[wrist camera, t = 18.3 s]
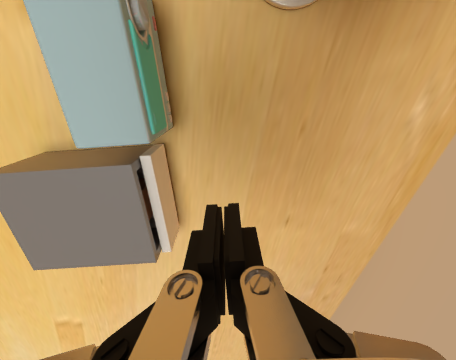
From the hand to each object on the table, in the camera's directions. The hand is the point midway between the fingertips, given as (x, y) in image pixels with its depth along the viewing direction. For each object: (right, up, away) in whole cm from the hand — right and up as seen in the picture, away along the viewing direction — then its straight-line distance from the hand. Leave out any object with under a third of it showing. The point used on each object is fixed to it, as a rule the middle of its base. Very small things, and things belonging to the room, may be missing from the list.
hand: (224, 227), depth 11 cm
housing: (-20, +1, +26) cm, 32 cm away
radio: (-12, +18, +19) cm, 29 cm away
